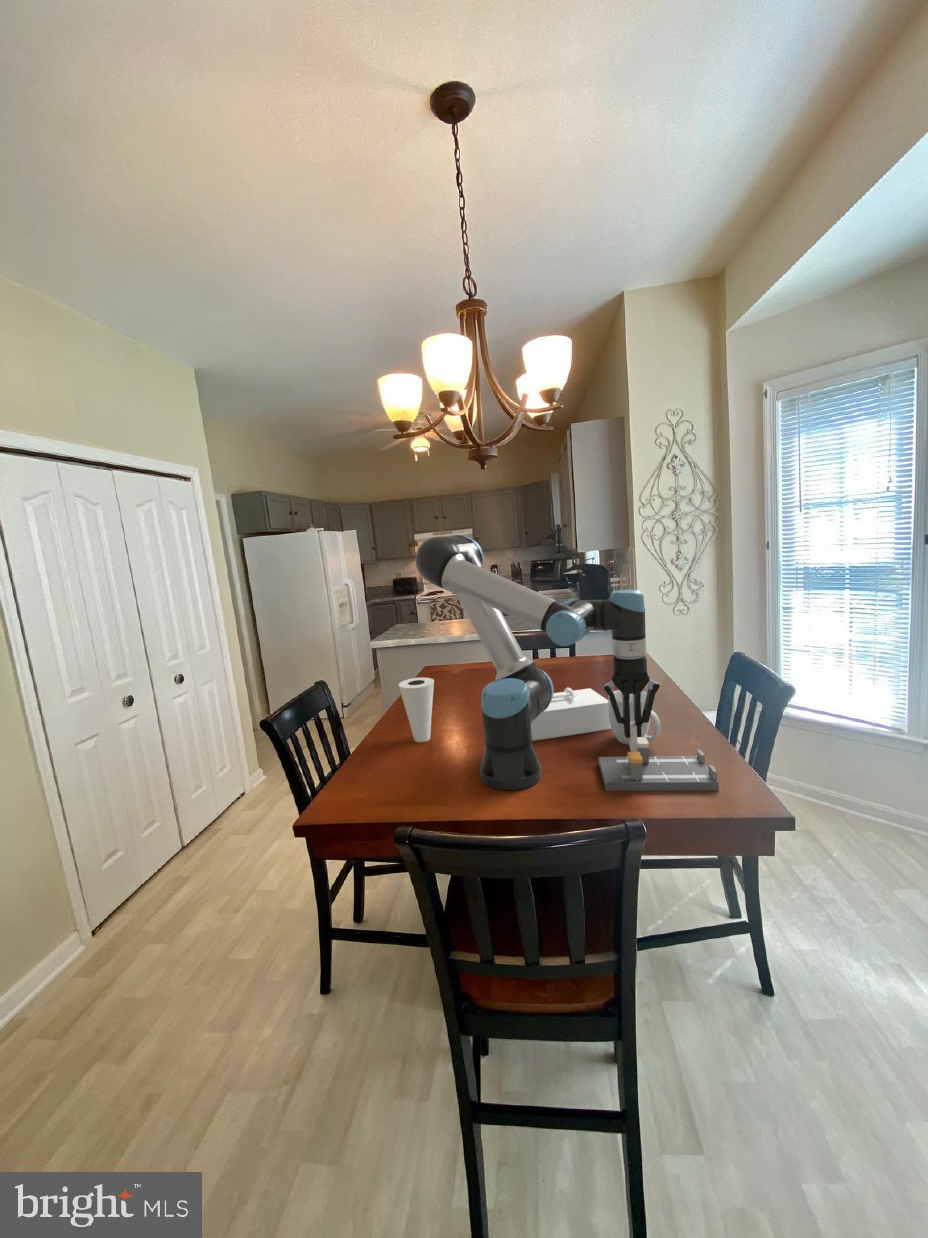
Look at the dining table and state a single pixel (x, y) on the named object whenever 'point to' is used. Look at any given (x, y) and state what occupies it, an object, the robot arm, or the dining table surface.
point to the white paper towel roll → (418, 705)
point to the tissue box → (572, 715)
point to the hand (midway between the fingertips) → (633, 749)
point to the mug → (631, 718)
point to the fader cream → (643, 748)
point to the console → (660, 774)
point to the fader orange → (635, 765)
